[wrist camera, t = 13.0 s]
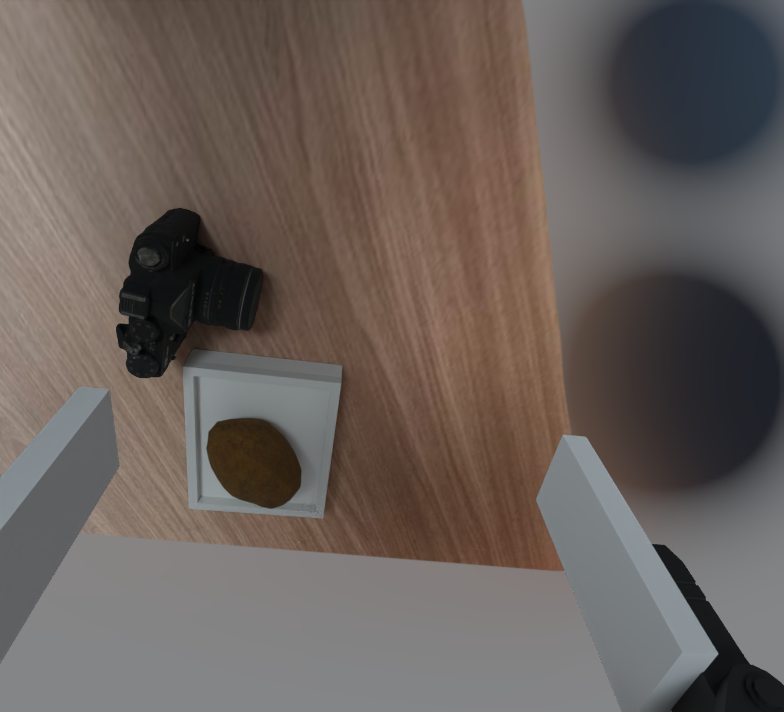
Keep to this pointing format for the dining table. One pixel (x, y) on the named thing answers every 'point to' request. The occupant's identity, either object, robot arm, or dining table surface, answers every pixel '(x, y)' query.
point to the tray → (267, 402)
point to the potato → (254, 461)
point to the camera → (179, 292)
